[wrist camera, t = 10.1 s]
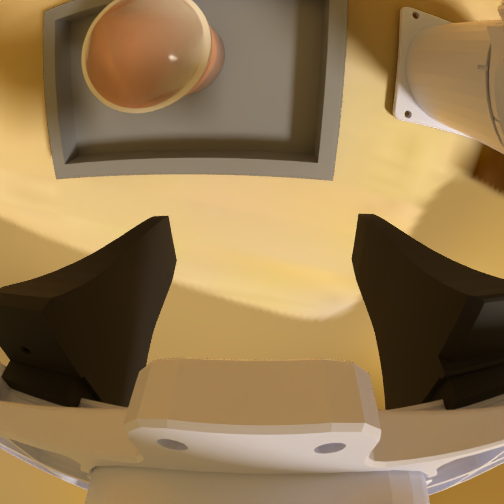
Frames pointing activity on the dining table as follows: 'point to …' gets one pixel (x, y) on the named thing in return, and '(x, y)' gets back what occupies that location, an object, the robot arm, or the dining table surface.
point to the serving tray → (209, 97)
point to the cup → (150, 54)
